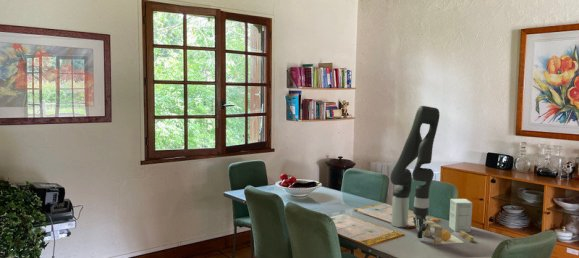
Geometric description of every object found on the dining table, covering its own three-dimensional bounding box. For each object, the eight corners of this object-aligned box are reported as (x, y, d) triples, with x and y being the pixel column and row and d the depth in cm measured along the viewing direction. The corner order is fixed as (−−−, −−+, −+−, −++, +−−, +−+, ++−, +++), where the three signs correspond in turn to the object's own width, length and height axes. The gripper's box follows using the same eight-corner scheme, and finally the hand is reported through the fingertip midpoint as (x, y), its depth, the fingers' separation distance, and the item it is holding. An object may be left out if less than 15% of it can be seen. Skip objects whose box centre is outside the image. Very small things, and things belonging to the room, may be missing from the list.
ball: (440, 240, 243) (436, 232, 242) (448, 234, 244) (443, 226, 243) (446, 244, 238) (442, 236, 236) (454, 237, 239) (450, 229, 237)
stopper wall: (459, 235, 249) (459, 230, 249) (462, 235, 249) (462, 230, 249) (470, 242, 238) (470, 237, 238) (473, 242, 238) (474, 237, 238)
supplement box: (464, 226, 265) (466, 198, 263) (471, 232, 255) (473, 202, 254) (448, 226, 264) (450, 198, 262) (454, 231, 255) (456, 202, 253)
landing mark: (431, 236, 247) (431, 235, 247) (452, 235, 249) (452, 234, 249) (442, 243, 235) (442, 243, 235) (463, 242, 237) (464, 242, 237)
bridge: (422, 235, 247) (423, 219, 246) (428, 235, 248) (428, 218, 247) (435, 244, 233) (436, 227, 232) (441, 244, 234) (442, 227, 233)
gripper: (434, 208, 231) (432, 241, 233) (422, 202, 244) (420, 233, 246) (420, 209, 230) (418, 242, 232) (409, 202, 243) (407, 233, 245)
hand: (419, 237), depth 239 cm, fingers closed
